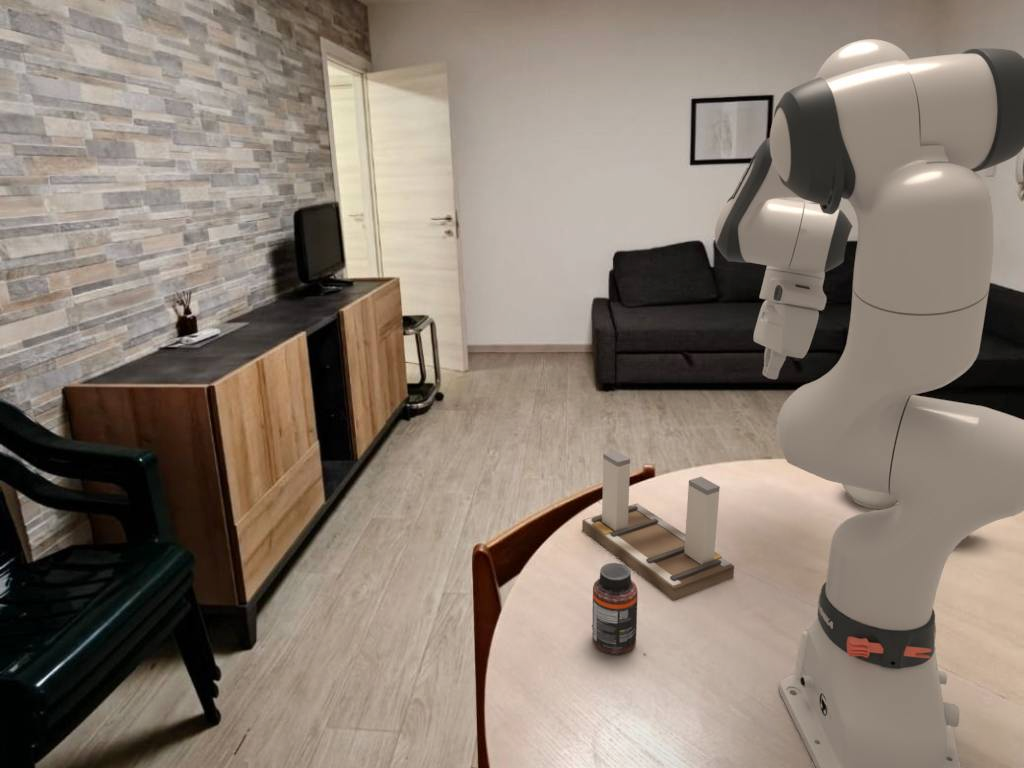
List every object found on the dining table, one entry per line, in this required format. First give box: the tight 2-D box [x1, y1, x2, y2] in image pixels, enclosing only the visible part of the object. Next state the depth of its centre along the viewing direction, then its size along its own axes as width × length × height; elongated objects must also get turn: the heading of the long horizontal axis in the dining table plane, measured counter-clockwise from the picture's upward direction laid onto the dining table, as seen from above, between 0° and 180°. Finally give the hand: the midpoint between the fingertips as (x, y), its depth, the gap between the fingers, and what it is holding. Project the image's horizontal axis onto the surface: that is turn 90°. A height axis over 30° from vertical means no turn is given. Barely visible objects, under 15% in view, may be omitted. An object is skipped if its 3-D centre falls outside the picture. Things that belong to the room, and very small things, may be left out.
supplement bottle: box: [591, 562, 639, 655], centre depth 98 cm, size 6×6×11 cm
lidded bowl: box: [842, 484, 900, 510], centre depth 135 cm, size 13×13×11 cm
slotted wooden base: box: [581, 503, 735, 601], centre depth 120 cm, size 24×12×3 cm, turn 29°
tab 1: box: [601, 450, 631, 531], centre depth 123 cm, size 4×2×13 cm, turn 29°
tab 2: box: [684, 476, 720, 565], centre depth 113 cm, size 4×2×13 cm, turn 29°
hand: (769, 377), depth 118 cm, fingers closed
